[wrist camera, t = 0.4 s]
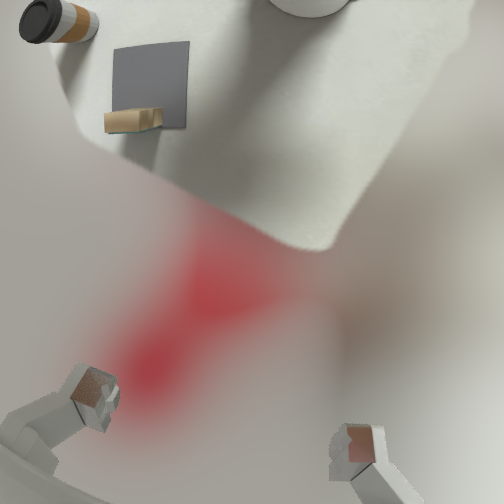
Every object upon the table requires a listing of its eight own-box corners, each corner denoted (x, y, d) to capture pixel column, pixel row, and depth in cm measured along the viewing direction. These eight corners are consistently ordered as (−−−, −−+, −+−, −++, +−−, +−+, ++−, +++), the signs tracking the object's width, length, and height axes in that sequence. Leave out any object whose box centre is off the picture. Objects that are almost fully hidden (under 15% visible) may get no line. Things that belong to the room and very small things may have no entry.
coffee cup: (96, -1, 38) (46, -16, 25) (110, 29, 41) (59, 19, 28) (65, 25, 40) (12, 19, 27) (77, 55, 44) (23, 54, 30)
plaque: (131, 108, 48) (104, 113, 40) (162, 107, 47) (139, 111, 39) (131, 127, 49) (104, 134, 41) (162, 126, 49) (139, 133, 41)
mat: (115, 49, 43) (113, 49, 43) (189, 41, 42) (188, 41, 42) (113, 128, 50) (112, 129, 50) (185, 127, 49) (184, 127, 49)
